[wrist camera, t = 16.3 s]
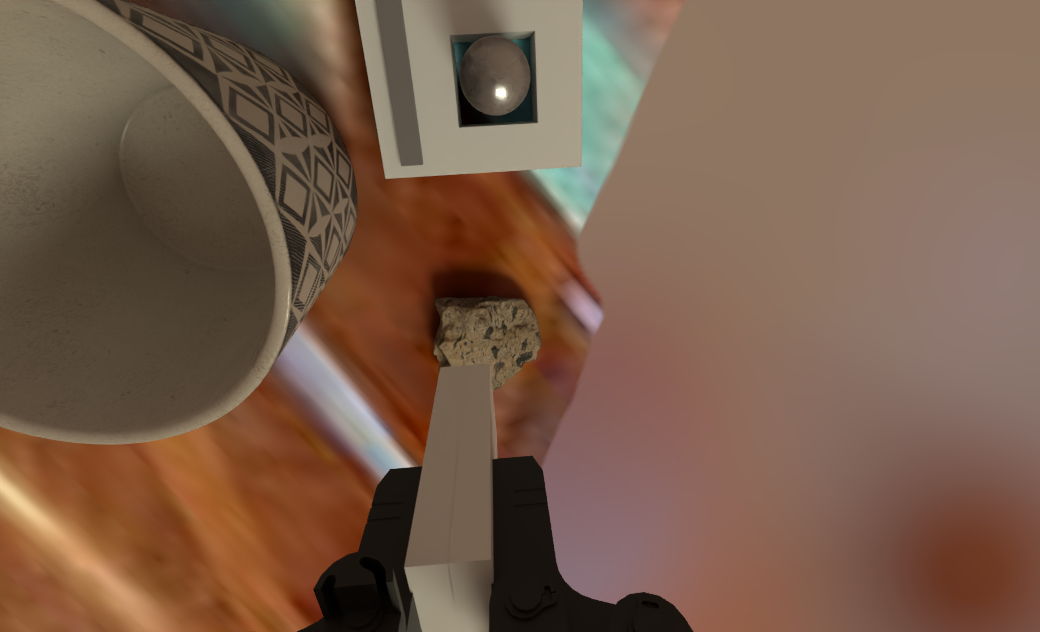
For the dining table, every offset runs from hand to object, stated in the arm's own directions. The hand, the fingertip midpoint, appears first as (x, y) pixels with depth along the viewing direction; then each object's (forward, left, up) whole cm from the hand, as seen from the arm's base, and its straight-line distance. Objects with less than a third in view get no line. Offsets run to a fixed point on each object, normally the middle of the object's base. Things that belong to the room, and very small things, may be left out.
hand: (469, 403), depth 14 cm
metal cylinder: (-10, +2, -35) cm, 36 cm away
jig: (-10, 0, -35) cm, 36 cm away
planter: (-3, -23, -35) cm, 42 cm away
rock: (+15, -1, -35) cm, 38 cm away
